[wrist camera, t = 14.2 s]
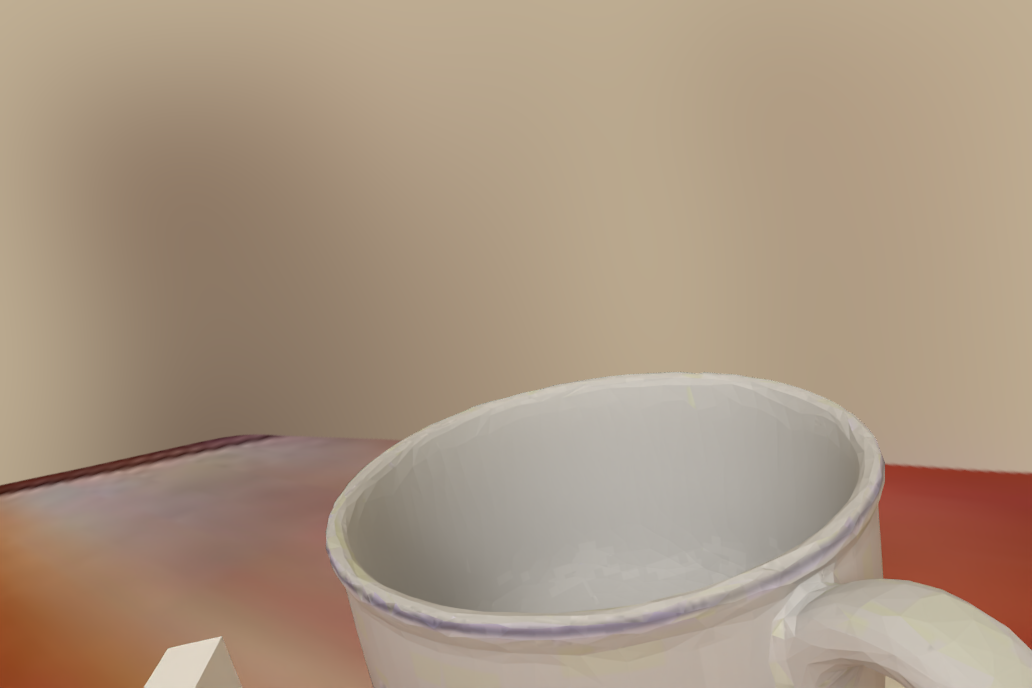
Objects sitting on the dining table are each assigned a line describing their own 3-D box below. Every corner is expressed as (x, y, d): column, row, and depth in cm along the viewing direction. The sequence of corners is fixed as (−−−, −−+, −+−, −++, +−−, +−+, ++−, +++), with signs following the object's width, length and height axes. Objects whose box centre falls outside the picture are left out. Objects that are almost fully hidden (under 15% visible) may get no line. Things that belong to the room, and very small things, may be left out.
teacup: (386, 703, 20) (301, 448, 18) (708, 557, 23) (669, 323, 21) (634, 1574, 7) (446, 1062, 5) (1273, 994, 11) (1322, 519, 8)
